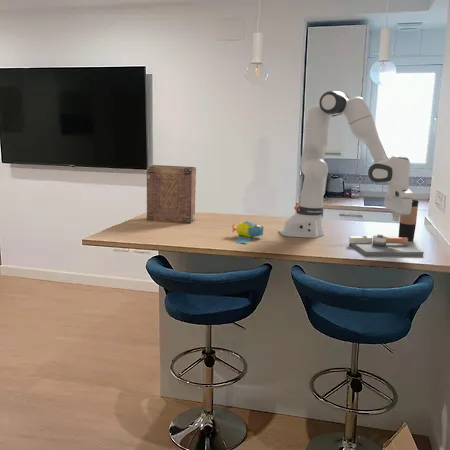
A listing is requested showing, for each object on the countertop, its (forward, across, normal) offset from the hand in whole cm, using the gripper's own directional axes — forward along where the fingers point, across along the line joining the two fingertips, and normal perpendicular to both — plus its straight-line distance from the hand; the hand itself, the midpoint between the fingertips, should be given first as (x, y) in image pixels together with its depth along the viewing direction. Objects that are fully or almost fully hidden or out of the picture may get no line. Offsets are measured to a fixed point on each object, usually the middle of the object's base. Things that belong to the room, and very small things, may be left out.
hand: (395, 220), depth 222 cm
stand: (+12, +8, -8) cm, 16 cm away
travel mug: (+13, -12, +12) cm, 21 cm away
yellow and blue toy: (+11, -16, -67) cm, 70 cm away
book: (+10, -54, -105) cm, 118 cm away
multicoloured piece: (+10, +6, -5) cm, 12 cm away
